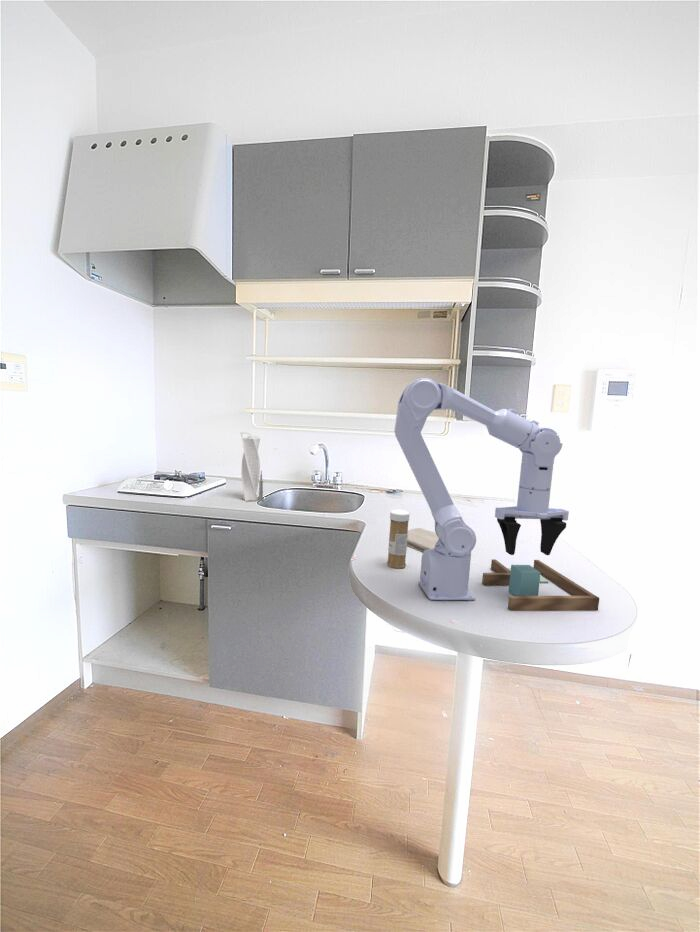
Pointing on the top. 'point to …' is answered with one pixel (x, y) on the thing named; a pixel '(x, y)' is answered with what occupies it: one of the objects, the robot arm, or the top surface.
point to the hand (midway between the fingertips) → (527, 553)
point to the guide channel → (576, 601)
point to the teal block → (524, 580)
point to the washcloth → (421, 539)
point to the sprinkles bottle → (398, 538)
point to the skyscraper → (251, 469)
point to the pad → (540, 578)
